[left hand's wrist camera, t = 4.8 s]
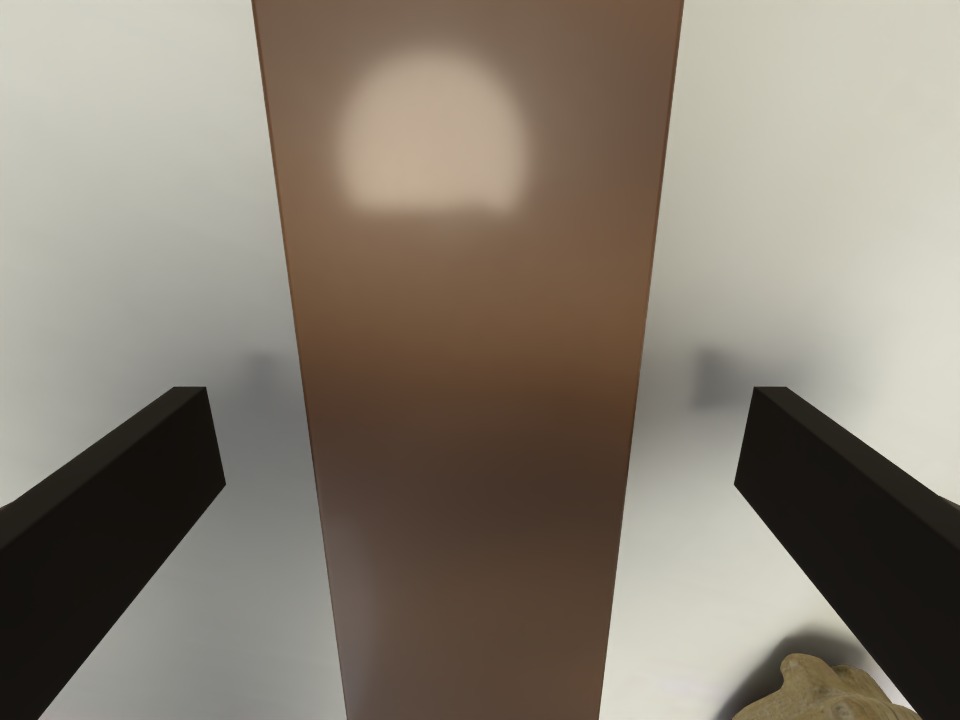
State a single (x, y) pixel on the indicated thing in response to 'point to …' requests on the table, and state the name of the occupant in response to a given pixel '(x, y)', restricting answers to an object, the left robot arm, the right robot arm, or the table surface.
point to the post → (470, 328)
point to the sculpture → (824, 695)
